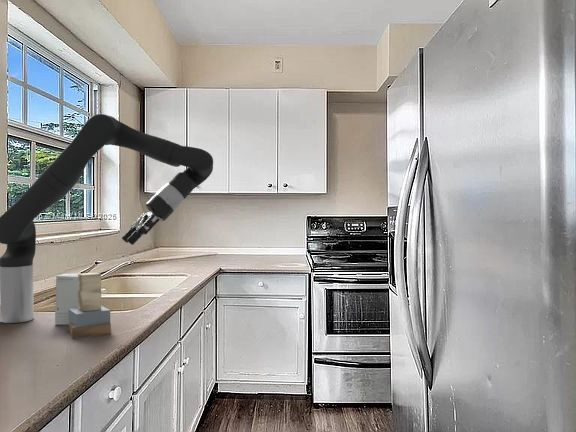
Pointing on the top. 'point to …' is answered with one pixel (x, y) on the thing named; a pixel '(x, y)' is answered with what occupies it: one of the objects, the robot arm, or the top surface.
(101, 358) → the top surface
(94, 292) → the birch pillar block
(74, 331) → the walnut base block
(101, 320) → the slate top block
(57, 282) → the skincare box
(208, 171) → the robot arm
